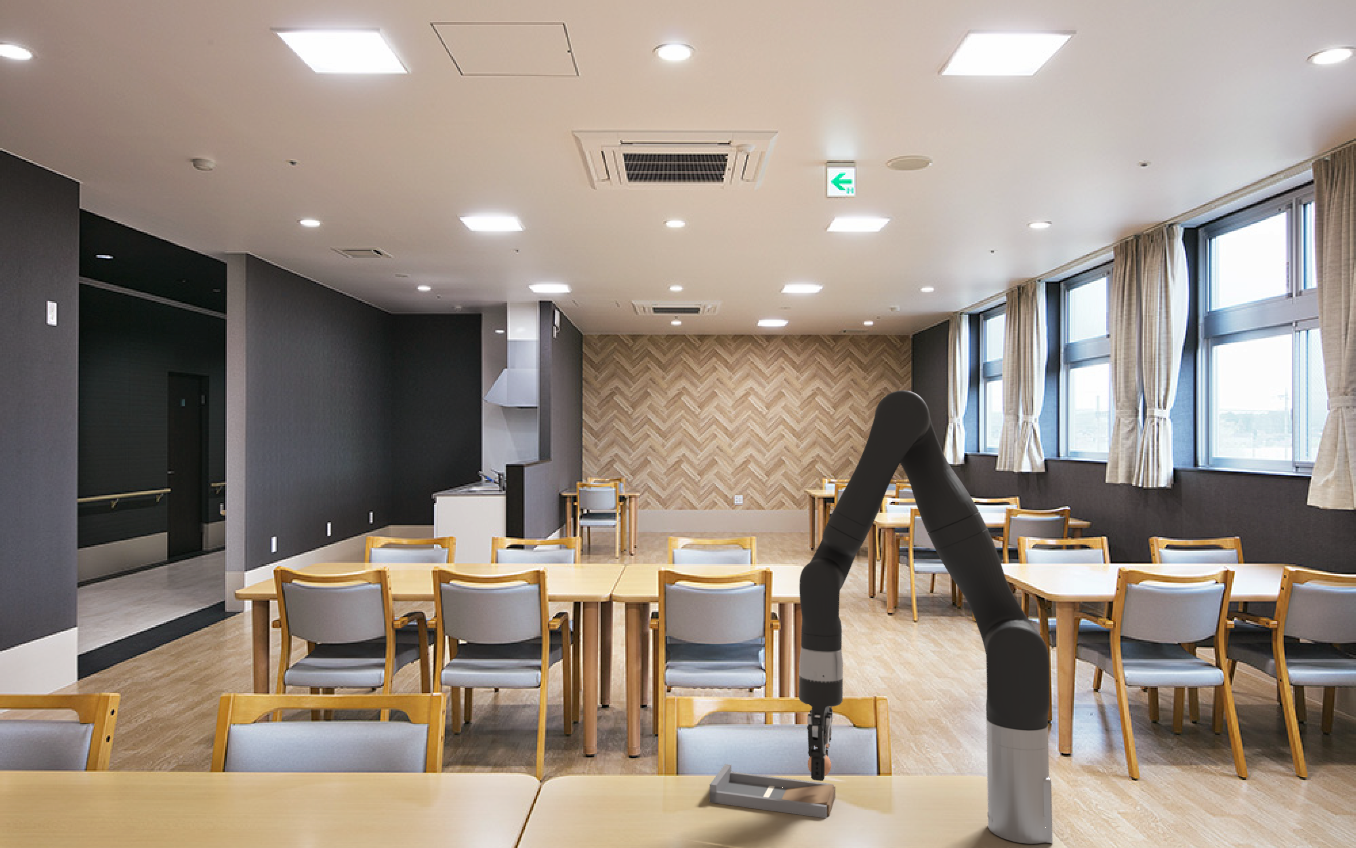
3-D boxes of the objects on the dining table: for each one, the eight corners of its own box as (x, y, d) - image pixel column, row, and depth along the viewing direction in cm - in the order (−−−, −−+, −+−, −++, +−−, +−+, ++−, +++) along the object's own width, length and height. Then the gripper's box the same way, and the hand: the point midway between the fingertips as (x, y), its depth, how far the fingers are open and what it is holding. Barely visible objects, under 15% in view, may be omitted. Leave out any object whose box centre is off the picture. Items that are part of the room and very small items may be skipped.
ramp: (835, 801, 142) (835, 784, 142) (829, 820, 134) (829, 802, 134) (786, 795, 145) (786, 778, 145) (778, 813, 137) (778, 795, 137)
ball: (832, 774, 140) (832, 750, 141) (829, 782, 137) (829, 758, 137) (809, 771, 142) (809, 747, 142) (806, 779, 138) (806, 755, 138)
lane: (833, 794, 143) (833, 777, 144) (826, 818, 133) (826, 799, 133) (724, 780, 149) (725, 764, 150) (709, 802, 139) (709, 784, 139)
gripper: (838, 685, 132) (836, 793, 131) (847, 667, 146) (845, 764, 145) (792, 681, 135) (791, 786, 133) (805, 663, 148) (804, 759, 147)
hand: (819, 774), depth 139 cm, fingers closed on ball, 4 cm apart
